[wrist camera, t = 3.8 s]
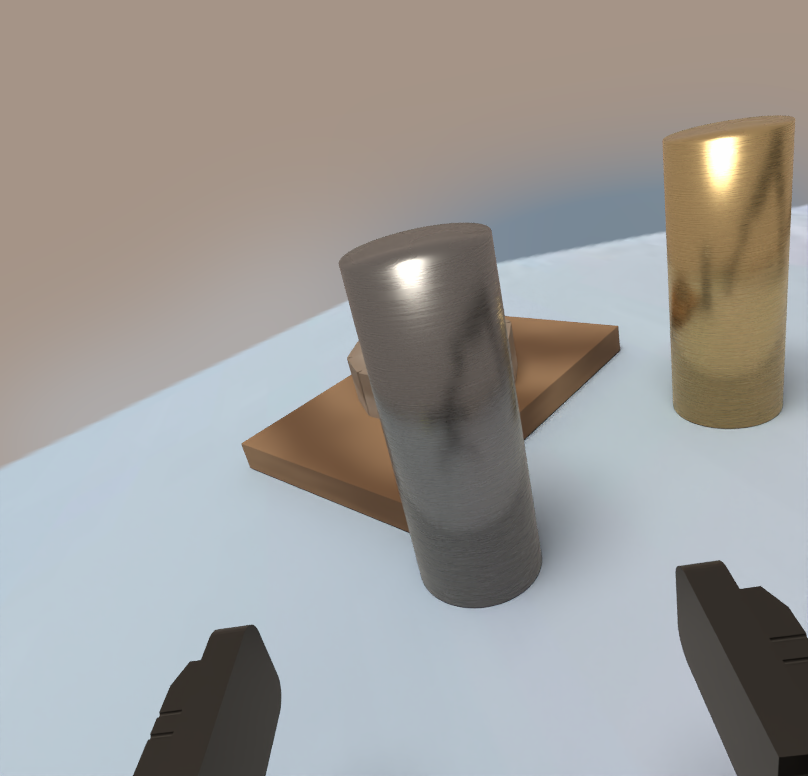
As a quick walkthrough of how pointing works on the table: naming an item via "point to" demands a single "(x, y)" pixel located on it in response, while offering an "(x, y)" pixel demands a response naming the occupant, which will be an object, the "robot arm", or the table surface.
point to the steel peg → (448, 407)
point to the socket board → (362, 432)
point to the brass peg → (729, 267)
